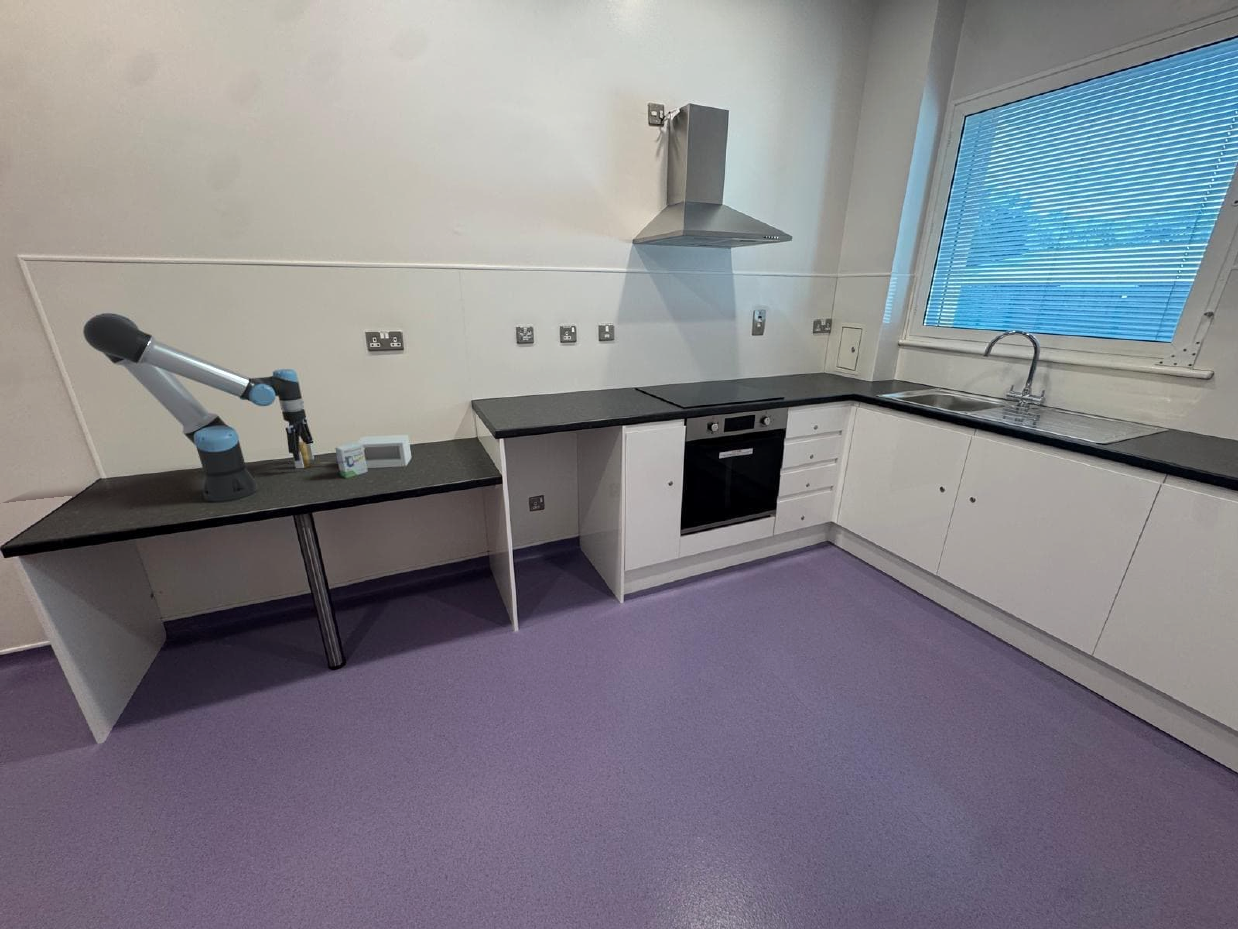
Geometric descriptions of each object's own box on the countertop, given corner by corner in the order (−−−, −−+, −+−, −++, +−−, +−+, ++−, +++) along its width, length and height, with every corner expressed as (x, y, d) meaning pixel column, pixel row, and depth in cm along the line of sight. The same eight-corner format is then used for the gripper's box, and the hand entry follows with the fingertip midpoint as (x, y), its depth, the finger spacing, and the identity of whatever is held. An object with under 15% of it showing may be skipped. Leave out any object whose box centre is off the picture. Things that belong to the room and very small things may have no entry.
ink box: (361, 469, 198) (356, 441, 194) (368, 472, 196) (363, 444, 191) (339, 475, 192) (334, 446, 188) (346, 478, 189) (340, 449, 185)
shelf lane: (357, 468, 199) (353, 444, 195) (365, 459, 209) (361, 436, 206) (405, 466, 202) (402, 442, 199) (411, 457, 212) (408, 434, 209)
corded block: (298, 469, 197) (293, 445, 194) (304, 464, 203) (299, 441, 199) (357, 466, 201) (353, 443, 198) (362, 461, 207) (358, 438, 203)
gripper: (291, 416, 182) (304, 472, 190) (314, 402, 203) (325, 454, 211) (269, 417, 181) (282, 473, 189) (294, 403, 202) (306, 455, 209)
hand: (305, 463), depth 200 cm, fingers open, 9 cm apart
